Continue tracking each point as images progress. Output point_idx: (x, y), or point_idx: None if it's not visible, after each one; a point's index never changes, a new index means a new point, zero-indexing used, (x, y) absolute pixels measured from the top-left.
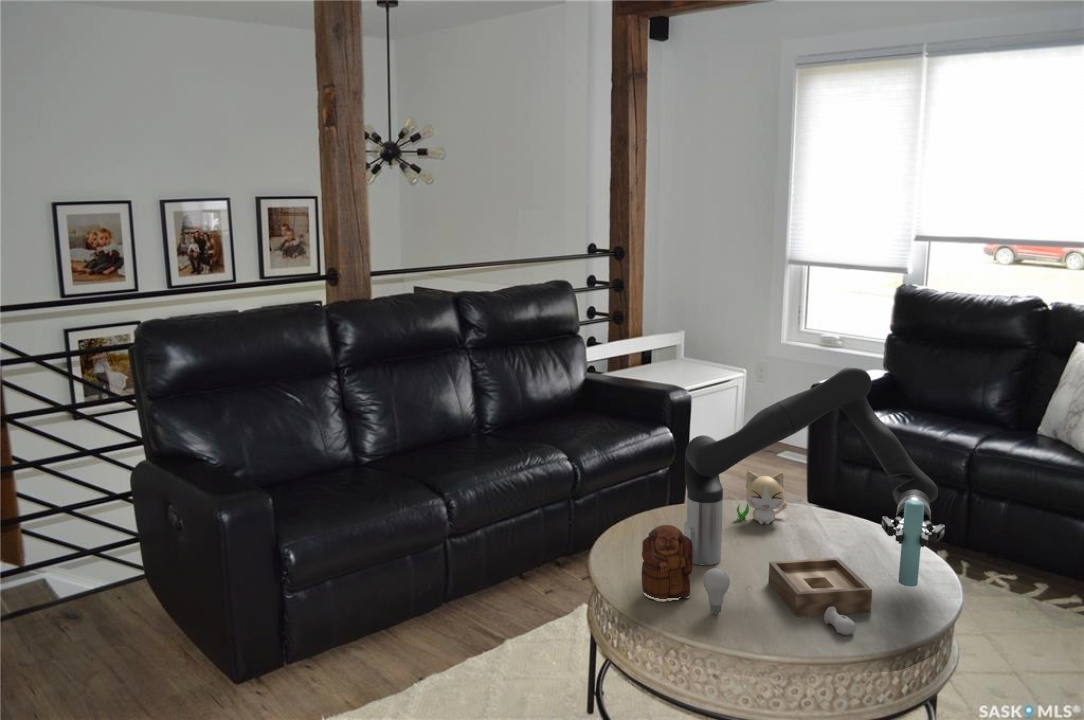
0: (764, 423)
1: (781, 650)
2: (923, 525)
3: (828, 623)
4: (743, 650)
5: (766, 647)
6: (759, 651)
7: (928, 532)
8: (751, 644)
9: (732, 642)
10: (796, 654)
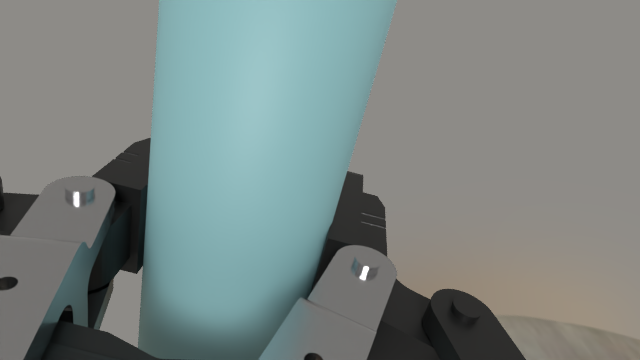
0: None
1: (526, 332)
2: (32, 242)
3: None
4: (589, 328)
5: (559, 341)
6: (561, 326)
7: (58, 185)
8: (592, 350)
9: (630, 355)
10: None
